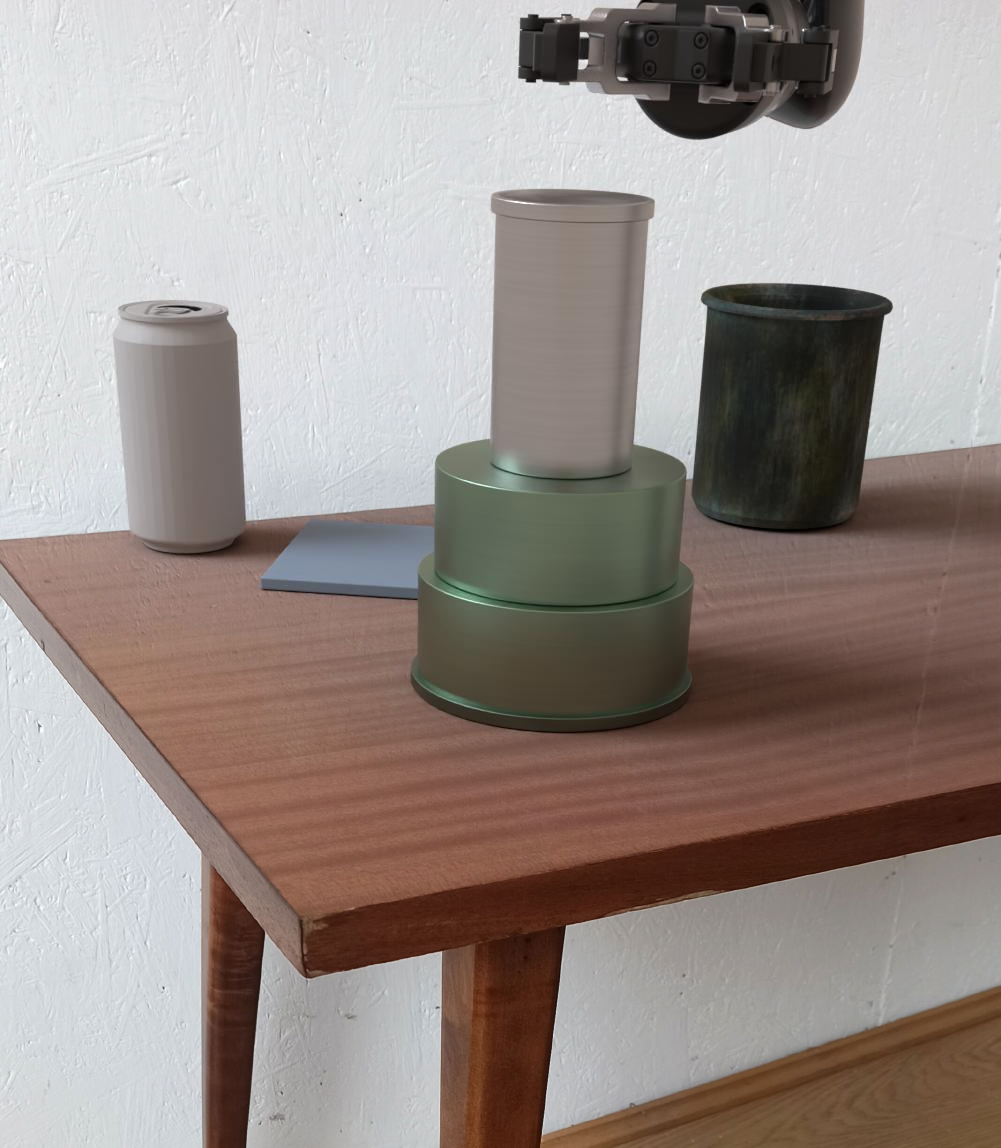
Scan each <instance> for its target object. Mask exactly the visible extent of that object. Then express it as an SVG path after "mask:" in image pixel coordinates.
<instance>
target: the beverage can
mask: <svg viewBox="0 0 1001 1148" xmlns="http://www.w3.org/2000/svg"><path fill="white" fill-rule="evenodd" d="M117 312H118V315H119V317H120V319H119V322H118V323H117V324H116V327H115V328H114V330H113V332H112V341H113V353H114V366H115V376H116V390H117V400H118V411H119V425H120V436H121V446H122V447H121V448H122V460H123V470H124V472H123V473H124V482H125V483H124V484H125V494H126V507H127V517H128V518H127V521H128V527H129V531H130V532H131V533H132V535H134V536H135V537H137V538H138V539H140V540H141V541H142V542H143V544H144V545H145V546H146V547H148V548H150V549H152V550H155V551H157V552H163V553H170V554H201V553H208V552H214V551H219V550H221V549H225V548H227V547H229V546H231V545H232V544H233V543H234V541H235V539H236V538H238V537H240V536H241V535H242V534H243V533H245V531H246V529H247V513H246V512H247V511H246V510H247V509H246V493H245V472H244V453H243V452H244V451H243V432H242V431H243V430H242V428H243V427H242V411H241V391H240V369H239V349H238V334H237V332H236V331H235V329H234V327H233V326H232V325H231V323H230V322H229V319H228V317H229V307H228V306H225V305H222V304H218V303H215V302H209V301H200V300H184V299H183V300H182V299H163V300H162V299H157V300H142V301H134V302H130V303H125V304H122V305H120V306H119V307H118V308H117Z"/></svg>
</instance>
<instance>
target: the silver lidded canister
mask: <svg viewBox="0 0 1001 1148" xmlns="http://www.w3.org/2000/svg"><path fill="white" fill-rule="evenodd" d="M655 207H656V201H655V199H654V198H652V197H649V196H645V195H640V194H635V193H629V192H620V191H609V190H593V189H577V188H576V189H575V188H573V189H572V188H569V189H568V188H520V189H508V190H507V189H506V190H499V191H496V192H493V193H492V194H491V195H490V212H491V213H493V214H494V215H495V220H494V223H495V224H494V226H495V227H494V260H493V261H494V264H493V265H494V266H493V267H494V268H493V272H494V273H493V300H492V301H493V305H492V306H493V307H492V313H493V314H492V341H491V342H492V345H491V346H492V347H491V350H492V352H491V354H492V355H491V388H490V389H491V390H490V392H491V393H490V424H489V425H490V430H489V431H490V432H489V439H490V461H491V463H492V464H493V465H494V466H496V467H498V468H500V469H502V470H505V471H508V472H511V473H515V474H520V475H525V476H531V477H539V478H550V479H593V478H602V477H608V476H613V475H617V474H620V473H623V472H626V471H627V470H629V469H630V468H631V466H632V460H633V445H635V444H634V443H635V430H636V416H637V414H636V413H637V400H638V399H637V398H638V385H639V369H640V355H641V339H642V324H643V312H644V311H643V310H644V309H643V308H644V297H645V296H644V294H645V279H646V266H647V265H646V263H647V251H648V250H647V249H648V248H647V247H648V236H649V234H648V233H649V221H650V220H651V219H653V218H654V217H655V209H656V208H655Z"/></svg>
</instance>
